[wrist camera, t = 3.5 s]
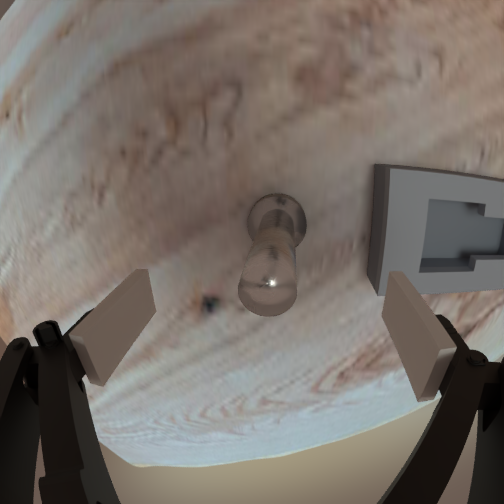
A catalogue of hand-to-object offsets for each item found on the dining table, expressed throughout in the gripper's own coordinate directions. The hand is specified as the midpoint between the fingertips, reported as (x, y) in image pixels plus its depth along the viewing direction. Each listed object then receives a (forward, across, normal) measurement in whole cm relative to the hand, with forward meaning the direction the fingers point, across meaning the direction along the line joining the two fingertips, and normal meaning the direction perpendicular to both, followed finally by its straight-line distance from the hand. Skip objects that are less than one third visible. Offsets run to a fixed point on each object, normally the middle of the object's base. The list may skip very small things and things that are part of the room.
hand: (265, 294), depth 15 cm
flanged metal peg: (+13, 0, 0) cm, 13 cm away
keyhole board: (+13, +19, 0) cm, 23 cm away
